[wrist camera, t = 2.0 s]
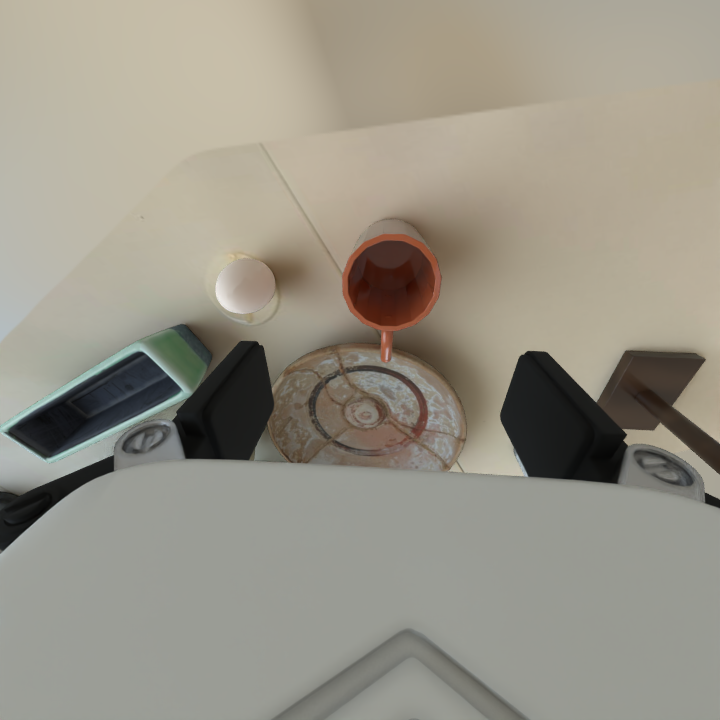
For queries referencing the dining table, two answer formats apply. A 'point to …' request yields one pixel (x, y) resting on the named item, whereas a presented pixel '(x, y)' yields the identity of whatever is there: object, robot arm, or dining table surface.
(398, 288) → the mug
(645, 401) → the bent pole stand
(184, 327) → the planter
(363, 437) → the ceramic bowl
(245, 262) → the egg
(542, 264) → the dining table surface
